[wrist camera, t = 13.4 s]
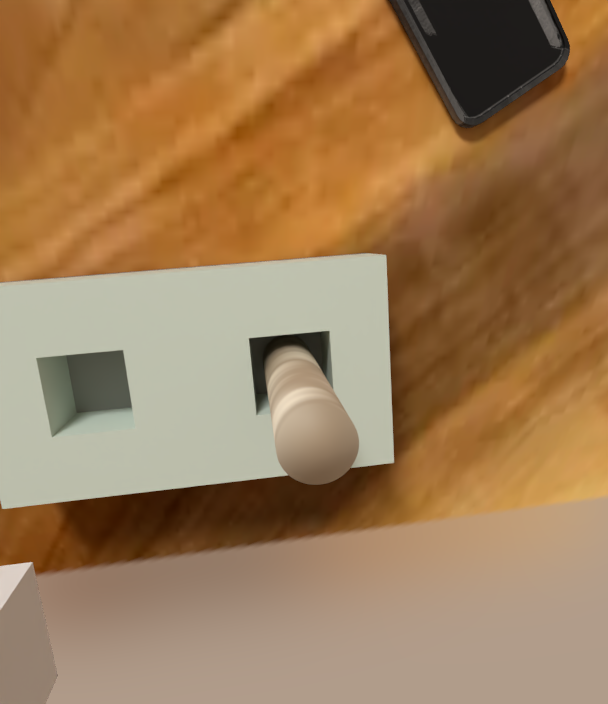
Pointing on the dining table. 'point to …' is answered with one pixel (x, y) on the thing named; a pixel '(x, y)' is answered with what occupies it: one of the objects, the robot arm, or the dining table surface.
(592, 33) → the dining table surface
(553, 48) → the phone
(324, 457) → the birch pin
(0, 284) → the hole block
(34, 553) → the dining table surface
